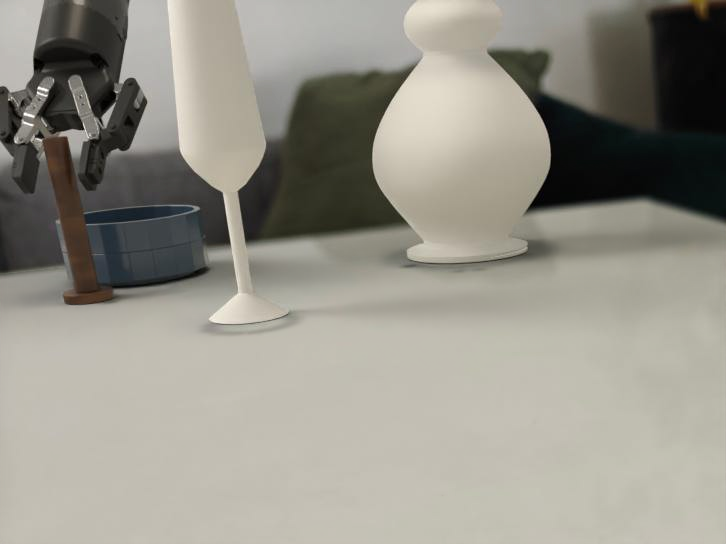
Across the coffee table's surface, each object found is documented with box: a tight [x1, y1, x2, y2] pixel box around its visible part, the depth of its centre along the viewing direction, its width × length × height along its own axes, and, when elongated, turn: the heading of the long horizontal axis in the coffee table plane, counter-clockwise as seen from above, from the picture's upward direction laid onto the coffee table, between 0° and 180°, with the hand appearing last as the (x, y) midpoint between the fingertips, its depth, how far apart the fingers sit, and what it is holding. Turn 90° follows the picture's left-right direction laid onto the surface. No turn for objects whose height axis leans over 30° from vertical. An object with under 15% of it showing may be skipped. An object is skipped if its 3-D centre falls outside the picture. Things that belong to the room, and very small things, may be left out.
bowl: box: [55, 204, 210, 287], centre depth 115 cm, size 14×14×6 cm
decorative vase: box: [371, 0, 552, 264], centre depth 111 cm, size 18×18×25 cm
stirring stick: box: [42, 135, 115, 305], centre depth 103 cm, size 5×5×14 cm
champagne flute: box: [166, 0, 290, 325], centre depth 89 cm, size 7×7×24 cm
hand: (55, 185), depth 100 cm, fingers open, 5 cm apart
